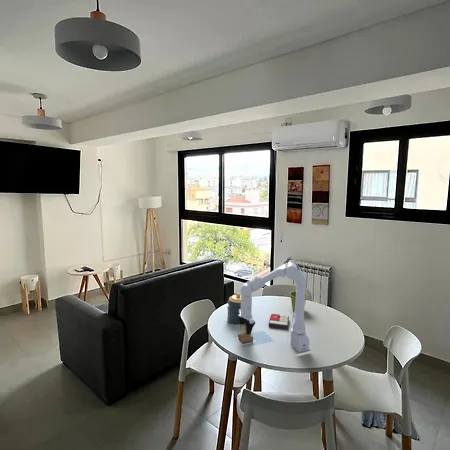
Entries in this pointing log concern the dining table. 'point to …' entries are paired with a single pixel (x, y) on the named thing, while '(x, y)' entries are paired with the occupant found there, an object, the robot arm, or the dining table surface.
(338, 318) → the dining table surface
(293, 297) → the plant pot
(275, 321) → the multicoloured piece
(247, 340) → the walnut base
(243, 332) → the maple block
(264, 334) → the board
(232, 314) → the canister
